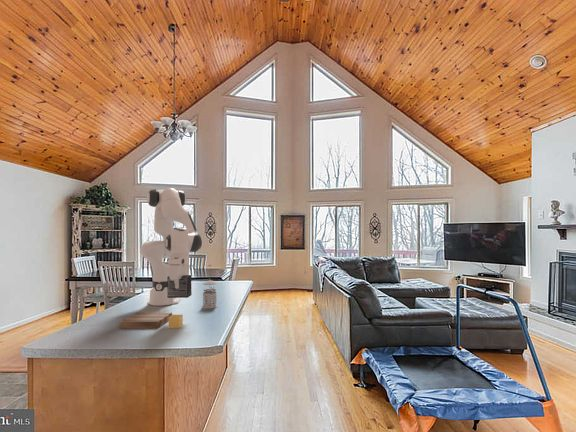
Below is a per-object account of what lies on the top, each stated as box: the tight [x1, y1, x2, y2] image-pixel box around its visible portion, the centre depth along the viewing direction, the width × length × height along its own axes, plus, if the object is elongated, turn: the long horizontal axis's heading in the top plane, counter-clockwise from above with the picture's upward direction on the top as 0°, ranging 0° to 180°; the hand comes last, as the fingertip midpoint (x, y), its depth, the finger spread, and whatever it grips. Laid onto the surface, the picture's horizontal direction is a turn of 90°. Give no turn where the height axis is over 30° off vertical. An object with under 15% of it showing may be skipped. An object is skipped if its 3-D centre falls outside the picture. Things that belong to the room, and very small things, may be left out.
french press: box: [201, 263, 219, 309], centre depth 209 cm, size 10×12×25 cm
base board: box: [119, 312, 173, 329], centre depth 172 cm, size 18×18×3 cm
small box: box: [167, 274, 192, 299], centre depth 176 cm, size 11×6×10 cm, turn 88°
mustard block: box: [168, 314, 184, 329], centre depth 165 cm, size 5×5×5 cm
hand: (179, 287), depth 176 cm, fingers closed on small box, 6 cm apart
